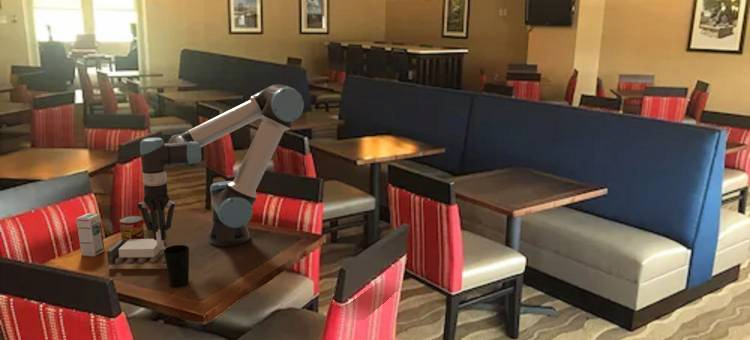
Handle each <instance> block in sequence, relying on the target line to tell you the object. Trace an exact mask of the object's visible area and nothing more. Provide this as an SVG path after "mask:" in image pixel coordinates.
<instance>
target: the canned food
mask: <svg viewBox="0 0 750 340" xmlns="http://www.w3.org/2000/svg"><path fill="white" fill-rule="evenodd" d="M119 227H120V236H121V237H120V239H125V243H126V242H127V241H128V240H129V239H146V238H145V228H144V218H143V216H140V215H129V216H125V217H121V218H120V219H119Z"/></svg>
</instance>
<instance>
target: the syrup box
mask: <svg viewBox="0 0 750 340" xmlns="http://www.w3.org/2000/svg"><path fill="white" fill-rule="evenodd" d="M75 220H76V226H77V232H78V234H77V235H78V239H79V247H80V252H81V256H85V257H96V256H98V255H100V254H102V253H103V252H105V243H104V236H103V235H104V234H103V227H102V221H101V215H100V213H93V212H91V213H85V214H83V215H80V216H78V217H76V218H75Z"/></svg>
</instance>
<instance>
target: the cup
mask: <svg viewBox="0 0 750 340" xmlns="http://www.w3.org/2000/svg"><path fill="white" fill-rule="evenodd" d="M165 248H166V249H164V255H165V260H166V265H167V269H166V270H167V274H168V280H169V285H170V287H171V288H173V289H176V288H177V289H179V288H184V287H186V286H188V285H189V283H190V282H189V275H190V274H189V271H190V269H189V267H190V265H189V262H190V247H189V246H187V245H184V244H177V245H176V244H175V245H171V246H167V247H165Z"/></svg>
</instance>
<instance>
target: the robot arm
mask: <svg viewBox="0 0 750 340" xmlns="http://www.w3.org/2000/svg"><path fill="white" fill-rule="evenodd" d="M304 106H305V103H304V99H303V96H302V94H301V93H299V92H298V91H297V89H295V88H293V87H291V86H288V85H285V84H283V83H282V84H281V83H280V84H279V83H276V84H275V83H274V84H272V85H270V86H268V87H265V88H264V89H262V90H261V91H258V92H256V93H255V94H253V95H251V96H250V97H249V99H248V100H247V101H244V102H243V103H241V104H239V105H237V106H235V107H233V108H231V109H229V110H227V111H225V112H223V113H221V114H218V115H217V116H215V117H213V118H211V119H209V120H206V121H205V122H203V123H201V124H199V125H197V126H195V127H193V128H191V129H188V130H186V131H184V132H183V133H181V134H179V133H178V134H174V135H172V136H171V137H170V138H169V140H168V143H164V140H163V138H161V137H147V138H143V139H141V140H140V142H139V148H140V151H139V152H140V161H141V171H142V181H143V184H144V185H143V192H144V194H143V195H144V198H143V201H141V202H139V203H138V204H137V208H138V209H139V210H140V212H141V214H142V218H143V222H144V224H145V227H146V230H151V231H153V235H154V240H157V250H162V249H163V248H164V247H165V240H166V239H167V233H166V231H168V230H169V229H170V228H171V227H172V222H173V216H174V209H175V207H176V205H177V202H176V201H172V200H171V199H170V197H169V195H168V194H169V192H168V184H167V183H166V182H167V181H168V180H167V172H166V171H167V169H166V166H176V165H177V166H178V165H193V164H198V163H200V162H201V161H202V147H205V146H206V145H209V144H212V143H213V142H214V141H217V140H219V139H221V138H222V137H224V136H226V135H229V134H231V133H232V132H233V133H234V131H237V130H239V129H241V128H242V127H244V126H246V125H249V124H251V123H252V122H255V121H257V120H258V119H260V120H261V123H260V124H259V127H258V129H257V131H256V133H255V135H254V138H253V139H252V142H251V143H250V146H249V147H248V150H247V151H246V154H245V155H244V158H243V160H242V162H241V165H240V166H239V168H238V170H237V173H236V175H235V177H234V179H233V180H227V181H226V180H223V181H218V182H214V183H212V184H211V185H210V187H209V189H210V190H209V193H210V201H211V202H210V203H211V204H210V205H211V215H212V216H211V217H212V218H211V219H212V224H211V227H210V231H209V234H208V235H209V236H208V240H209V244H211V245H213V246H217V247H233V246H238V245H242V244H245V243H247V242H248V241H249V240H250V233H249V229H248V227H247V224H248V223H249V222H250V221H251V219H252V216H253V210H254V209H253V206H254V204H255V202H256V200H257V198H258V195H257V192H256V190H257V188H258V187H259V184H260V182H261V180H262V177H263V176H264V174H265V172H266V170H267V168H268V166H269V163H270V161H271V159H272V157H273V155H274V153H275V151H276V149H277V147H278V145H279V143H280V141H281V139H282V137H283V134H284V132H285V131H288V130H291V128H292V126H293V124H294V121H296V120H297V119H299V118H300V117H301V115H302V113H303V111H304V109H305V107H304ZM167 205H168V206H167ZM166 206H167V207H168V210H167V213H166V214H167V216H165V210H166V209H165V208H166ZM147 207H148V208H149V210H150V213H151V218H152V222H151V219H150V216H149V213H148V211H149V210H148V208H147ZM157 210H158V213H159V224H160V230H158V229H159V228H158V218H157Z"/></svg>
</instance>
